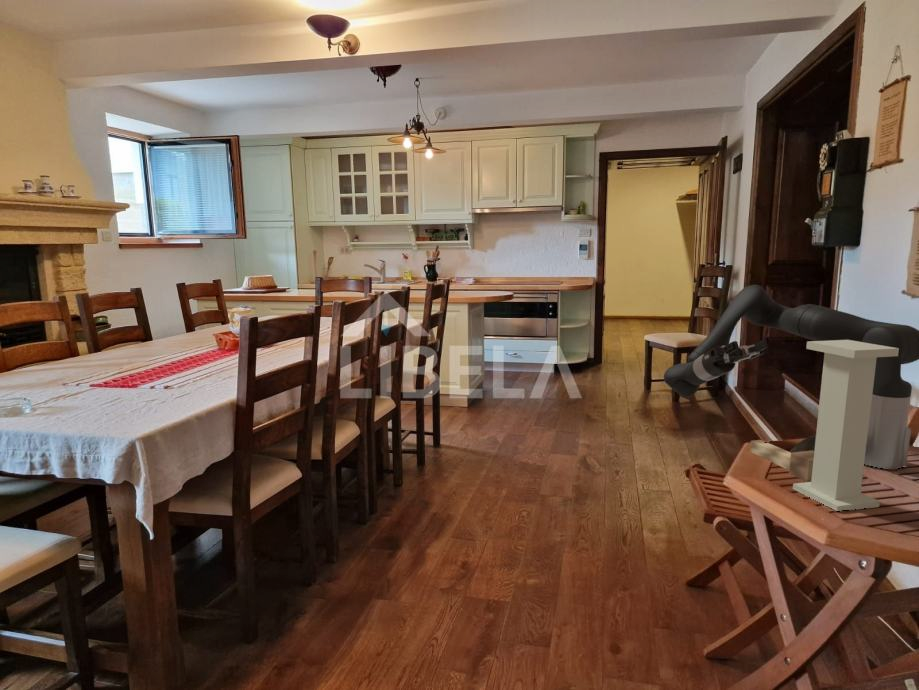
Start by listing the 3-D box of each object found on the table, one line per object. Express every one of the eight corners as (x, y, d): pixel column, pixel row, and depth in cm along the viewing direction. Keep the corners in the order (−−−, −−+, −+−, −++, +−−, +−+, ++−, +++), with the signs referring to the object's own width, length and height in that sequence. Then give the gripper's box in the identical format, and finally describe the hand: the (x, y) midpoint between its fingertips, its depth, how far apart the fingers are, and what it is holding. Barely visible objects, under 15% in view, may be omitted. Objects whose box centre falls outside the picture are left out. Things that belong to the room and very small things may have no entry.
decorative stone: (814, 466, 132) (815, 450, 131) (785, 459, 137) (786, 443, 137) (842, 451, 142) (844, 435, 142) (814, 444, 147) (816, 429, 147)
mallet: (744, 452, 141) (746, 433, 140) (764, 450, 143) (766, 431, 142) (807, 482, 123) (809, 460, 122) (829, 479, 124) (831, 458, 124)
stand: (792, 488, 119) (807, 341, 114) (832, 484, 121) (847, 339, 116) (836, 511, 109) (854, 350, 103) (879, 506, 111) (898, 348, 106)
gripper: (687, 352, 156) (723, 331, 141) (731, 350, 159) (771, 329, 144) (694, 378, 154) (731, 359, 139) (739, 375, 157) (780, 356, 142)
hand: (751, 343), depth 142 cm, fingers open, 8 cm apart
